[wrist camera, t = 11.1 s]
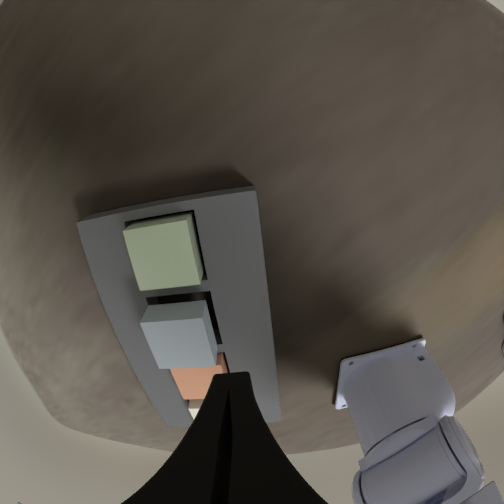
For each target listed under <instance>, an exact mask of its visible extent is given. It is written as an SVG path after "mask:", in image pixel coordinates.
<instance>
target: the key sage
mask: <svg viewBox="0 0 504 504" xmlns="http://www.w3.org/2000/svg"><path fill="white" fill-rule="evenodd" d="M123 235H124V238H125V242H126V246H127V249H128V253H129V257H130V260H131V263H132V267H133V270H134V273H135V277H136V280H137V283H138V286H139V289H140V291H144V290H154V289H163V288H173V287H182V286H191V285H199V284H201V280H202V276H203V272H204V268H203V263H202V258H201V253H200V248H199V243H198V238H197V233H196V228H195V223H194V217H193V212H186V213H180V214H174V215H168V216H162V217H156V218H151V219H145V220H140V221H134V222H133V223H132V224H130V225H129V226H128V227H127V228H126V229H124V230H123Z"/></svg>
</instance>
